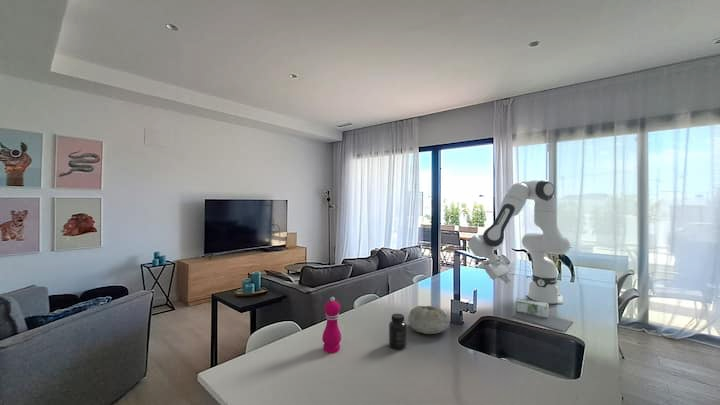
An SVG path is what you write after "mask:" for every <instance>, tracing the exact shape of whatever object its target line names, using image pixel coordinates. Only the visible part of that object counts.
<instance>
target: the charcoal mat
mask: <svg viewBox="0 0 720 405" xmlns="http://www.w3.org/2000/svg"><path fill="white" fill-rule="evenodd" d="M511 317H512V318H514V319H517V320H521V321H523V322H527V323H531V324H535V325H538V326H542V327H545V328H548V327H549V329H552V328H553V329H552V330H555V329H557V330H556V331H559V330H561V331H560V332H562V331H564V332H563V333H566V331H568V329H569V328H570V327H571V325H573V323H574V321H572V320H570V319H566V318H561V317H557V316H554V315H550V314H549V317H548V318H547V317H541V316H536V315H531V314H525V313H520V312H516V313H515V314H514V315H512V316H511Z"/></svg>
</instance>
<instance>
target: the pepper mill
mask: <svg viewBox="0 0 720 405" xmlns="http://www.w3.org/2000/svg"><path fill="white" fill-rule="evenodd" d="M329 298H330V299H329V301H327V302H326V303H325V305H324V312H325V319H326V326H325V328H324V330H323V333H322V338H321V339H322V340H321V341H322V342H323V351H324V352H325V353H327V354H335V353H338V352H339V351H340V348H341V341H342V333H341V331H340V328H339V325H338V320H339V318H340V316H339V315H340V314H339V313H340V311H341V305H340V303H339V301H336V300H335V299H336V298H335V297H334V296H331V297H329Z"/></svg>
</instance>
